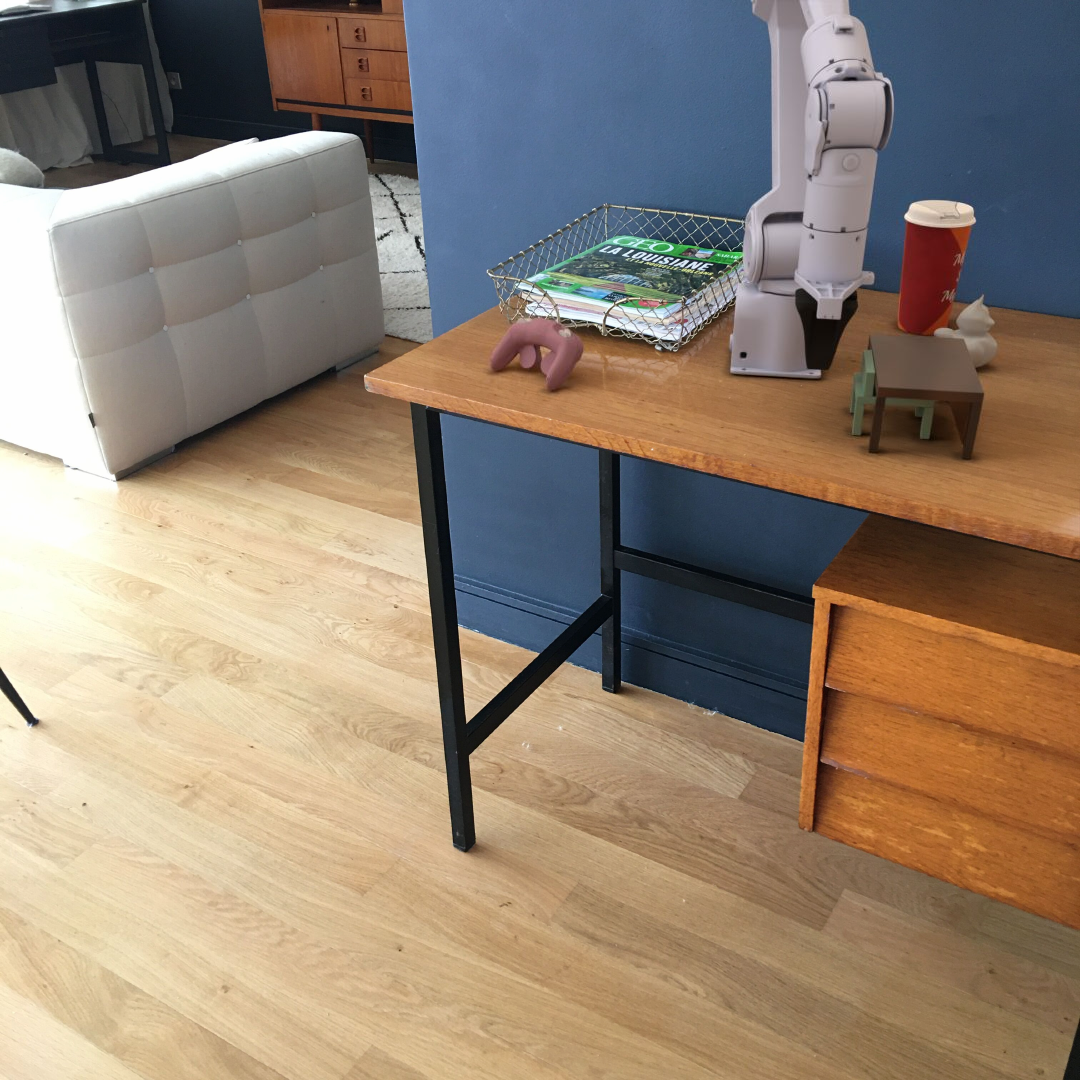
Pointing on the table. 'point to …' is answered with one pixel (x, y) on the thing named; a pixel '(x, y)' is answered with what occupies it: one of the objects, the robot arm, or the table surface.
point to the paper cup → (932, 263)
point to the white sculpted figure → (974, 332)
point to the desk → (927, 380)
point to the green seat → (867, 395)
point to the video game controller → (527, 344)
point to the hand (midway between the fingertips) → (817, 367)
